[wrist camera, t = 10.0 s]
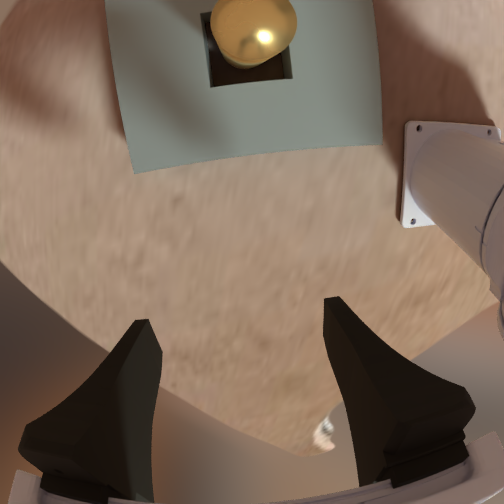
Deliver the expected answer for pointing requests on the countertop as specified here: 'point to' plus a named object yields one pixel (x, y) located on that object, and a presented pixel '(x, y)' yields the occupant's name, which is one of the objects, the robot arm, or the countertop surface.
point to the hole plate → (242, 84)
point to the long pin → (252, 30)
